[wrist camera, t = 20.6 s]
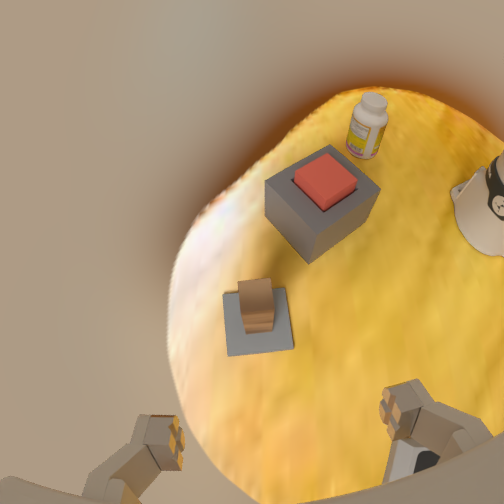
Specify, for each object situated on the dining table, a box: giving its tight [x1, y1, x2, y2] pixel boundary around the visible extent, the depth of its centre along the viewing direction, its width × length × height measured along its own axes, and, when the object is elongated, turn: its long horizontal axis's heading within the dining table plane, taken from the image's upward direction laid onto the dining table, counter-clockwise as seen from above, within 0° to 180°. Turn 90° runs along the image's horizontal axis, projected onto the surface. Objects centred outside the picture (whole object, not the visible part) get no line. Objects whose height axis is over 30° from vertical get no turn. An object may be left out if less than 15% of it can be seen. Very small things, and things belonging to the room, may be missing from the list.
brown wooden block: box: [238, 278, 275, 335], centre depth 39 cm, size 4×4×11 cm
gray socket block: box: [265, 145, 381, 265], centre depth 48 cm, size 13×11×9 cm
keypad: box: [382, 438, 440, 484], centre depth 31 cm, size 10×4×15 cm
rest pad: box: [223, 288, 294, 356], centre depth 44 cm, size 9×9×1 cm
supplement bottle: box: [346, 92, 388, 159], centre depth 53 cm, size 7×7×13 cm
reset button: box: [294, 153, 358, 213], centre depth 44 cm, size 6×6×5 cm
